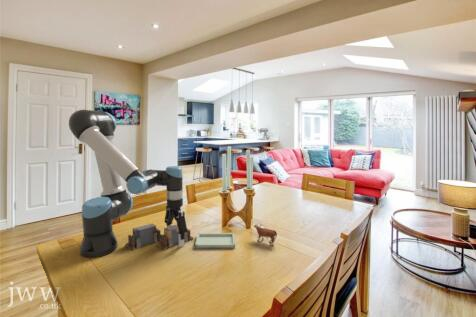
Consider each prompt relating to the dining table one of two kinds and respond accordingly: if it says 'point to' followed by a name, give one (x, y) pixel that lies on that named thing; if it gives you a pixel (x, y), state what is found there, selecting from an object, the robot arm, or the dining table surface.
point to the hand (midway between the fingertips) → (175, 241)
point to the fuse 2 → (172, 234)
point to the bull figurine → (265, 233)
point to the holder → (131, 240)
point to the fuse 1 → (144, 234)
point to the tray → (215, 240)
